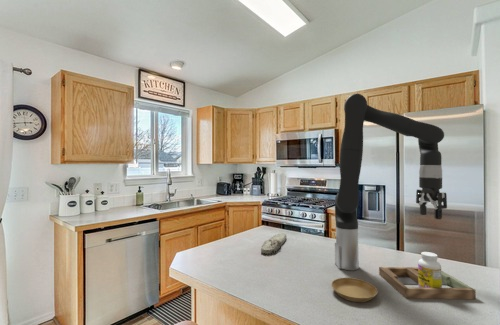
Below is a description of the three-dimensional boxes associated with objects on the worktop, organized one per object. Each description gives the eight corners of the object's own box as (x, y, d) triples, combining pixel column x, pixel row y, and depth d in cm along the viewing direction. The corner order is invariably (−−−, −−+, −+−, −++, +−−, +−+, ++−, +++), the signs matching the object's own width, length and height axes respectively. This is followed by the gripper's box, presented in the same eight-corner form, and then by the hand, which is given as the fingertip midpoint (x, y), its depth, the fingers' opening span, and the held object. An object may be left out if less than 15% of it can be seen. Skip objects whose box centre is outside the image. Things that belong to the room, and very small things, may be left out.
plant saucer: (354, 310, 76) (354, 301, 76) (322, 289, 90) (322, 281, 90) (387, 300, 82) (387, 292, 82) (353, 281, 96) (353, 274, 96)
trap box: (405, 298, 83) (405, 288, 83) (379, 274, 101) (379, 267, 101) (475, 299, 82) (475, 290, 82) (436, 275, 100) (436, 267, 100)
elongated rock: (290, 240, 156) (274, 239, 159) (289, 231, 156) (274, 231, 160) (276, 255, 123) (257, 254, 126) (275, 244, 123) (256, 244, 127)
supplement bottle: (414, 286, 91) (413, 251, 91) (431, 285, 91) (430, 250, 92) (428, 295, 84) (427, 257, 84) (447, 294, 85) (446, 256, 85)
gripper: (410, 175, 108) (409, 213, 107) (433, 177, 93) (433, 220, 93) (427, 176, 107) (427, 213, 107) (454, 177, 93) (453, 221, 93)
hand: (430, 216), depth 100 cm, fingers open, 8 cm apart
